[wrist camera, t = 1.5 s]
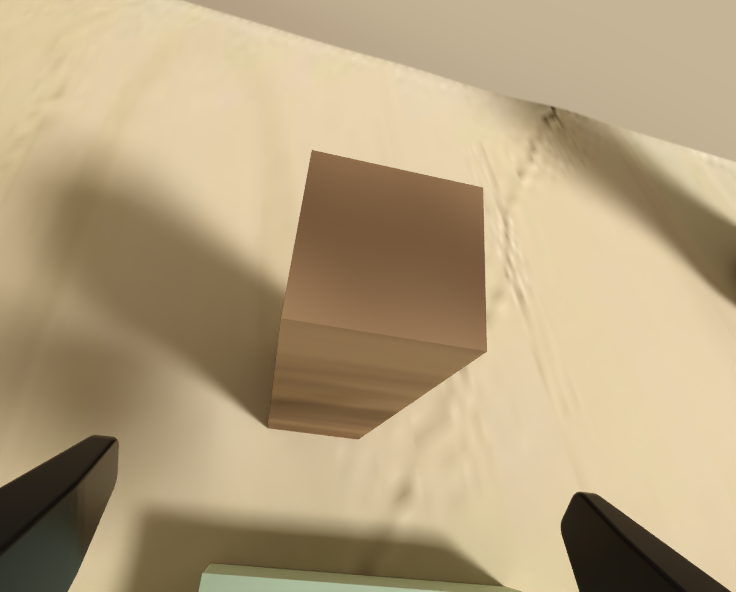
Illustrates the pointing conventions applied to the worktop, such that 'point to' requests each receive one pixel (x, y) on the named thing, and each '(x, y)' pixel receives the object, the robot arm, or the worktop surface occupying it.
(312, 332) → the brown square peg
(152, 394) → the worktop surface
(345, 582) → the green square hole base
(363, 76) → the worktop surface
